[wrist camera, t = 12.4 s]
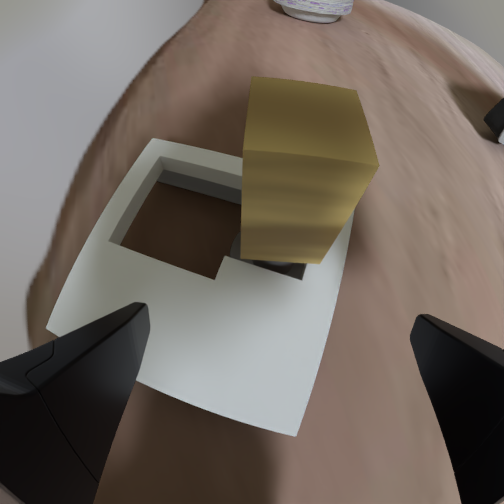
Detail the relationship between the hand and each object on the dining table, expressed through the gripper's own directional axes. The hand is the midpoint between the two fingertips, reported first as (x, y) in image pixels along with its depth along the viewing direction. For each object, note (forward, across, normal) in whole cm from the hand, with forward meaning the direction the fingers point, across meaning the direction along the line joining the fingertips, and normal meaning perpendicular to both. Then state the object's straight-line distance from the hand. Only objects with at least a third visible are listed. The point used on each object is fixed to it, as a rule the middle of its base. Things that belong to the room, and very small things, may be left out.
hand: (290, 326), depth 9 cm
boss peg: (+11, 0, +3) cm, 12 cm away
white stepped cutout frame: (+10, +4, +4) cm, 12 cm away
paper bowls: (+48, -8, -34) cm, 59 cm away
